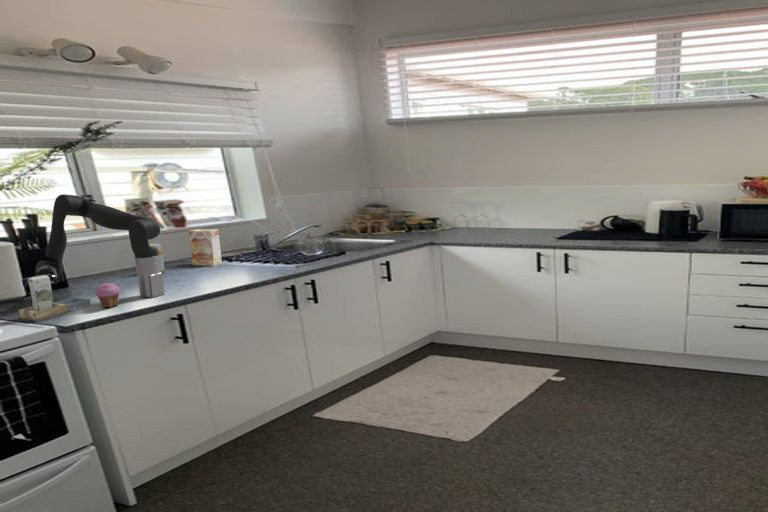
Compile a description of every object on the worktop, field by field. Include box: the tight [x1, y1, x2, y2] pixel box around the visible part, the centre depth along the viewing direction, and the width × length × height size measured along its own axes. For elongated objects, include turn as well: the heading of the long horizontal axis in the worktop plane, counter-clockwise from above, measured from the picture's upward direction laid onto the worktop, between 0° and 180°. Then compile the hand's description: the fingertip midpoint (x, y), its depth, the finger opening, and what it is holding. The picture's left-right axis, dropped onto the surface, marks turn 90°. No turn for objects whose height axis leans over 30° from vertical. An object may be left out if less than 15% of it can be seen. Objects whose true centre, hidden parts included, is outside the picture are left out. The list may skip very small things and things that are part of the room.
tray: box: [17, 302, 69, 322], centre depth 201 cm, size 12×12×4 cm
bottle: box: [149, 243, 166, 274], centre depth 274 cm, size 7×7×15 cm
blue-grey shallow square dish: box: [53, 296, 91, 311], centre depth 213 cm, size 10×10×2 cm
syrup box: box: [27, 275, 54, 312], centre depth 200 cm, size 6×6×14 cm
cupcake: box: [95, 282, 121, 308], centre depth 210 cm, size 9×9×10 cm
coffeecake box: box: [188, 228, 223, 267], centre depth 291 cm, size 15×7×20 cm, turn 68°
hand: (42, 282), depth 209 cm, fingers open, 8 cm apart
